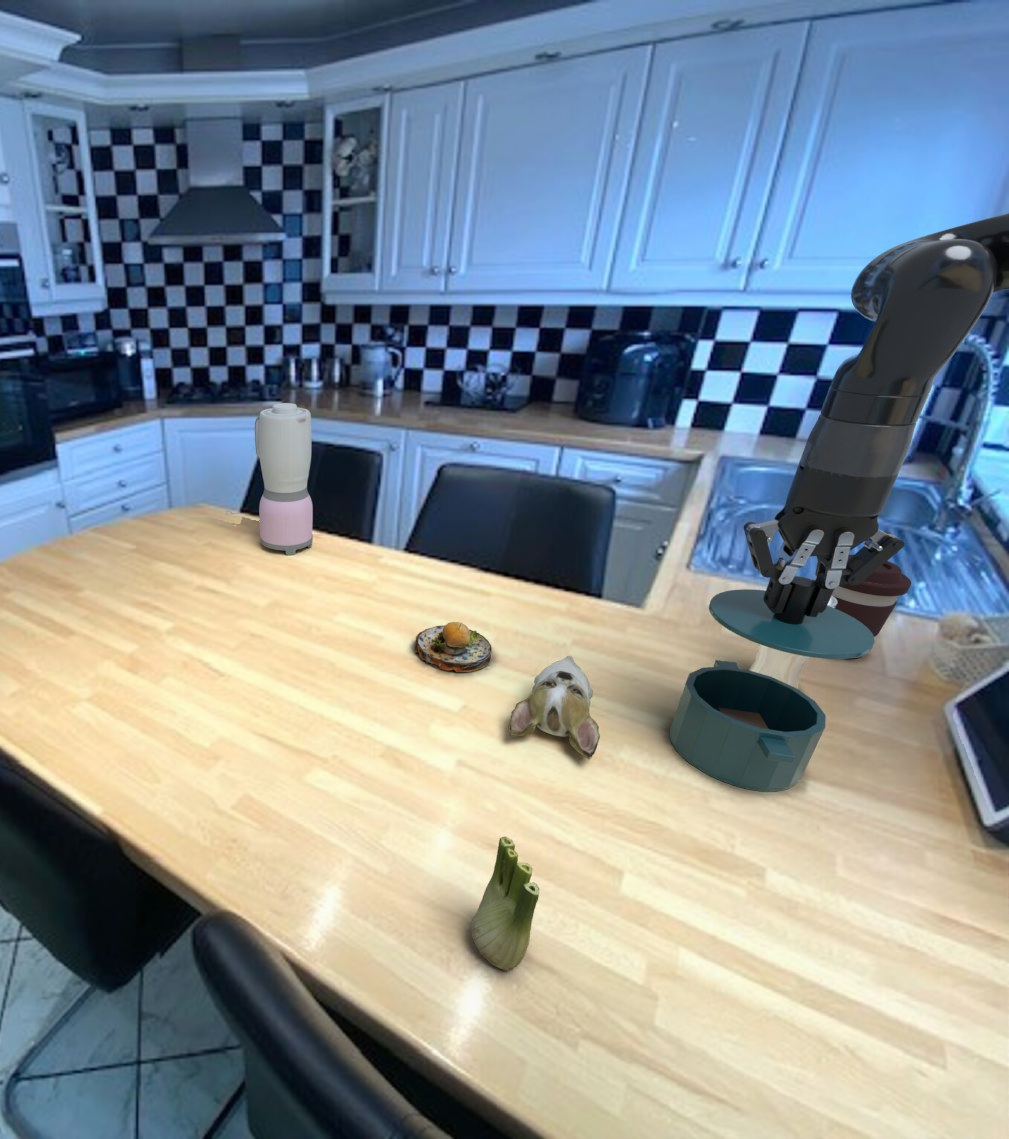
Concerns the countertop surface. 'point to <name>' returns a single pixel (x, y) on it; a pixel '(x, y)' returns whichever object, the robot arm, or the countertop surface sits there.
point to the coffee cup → (873, 596)
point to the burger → (453, 647)
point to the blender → (285, 477)
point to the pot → (746, 728)
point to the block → (745, 717)
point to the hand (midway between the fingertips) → (790, 611)
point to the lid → (792, 623)
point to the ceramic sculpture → (559, 707)
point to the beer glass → (782, 661)
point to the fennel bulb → (506, 910)
